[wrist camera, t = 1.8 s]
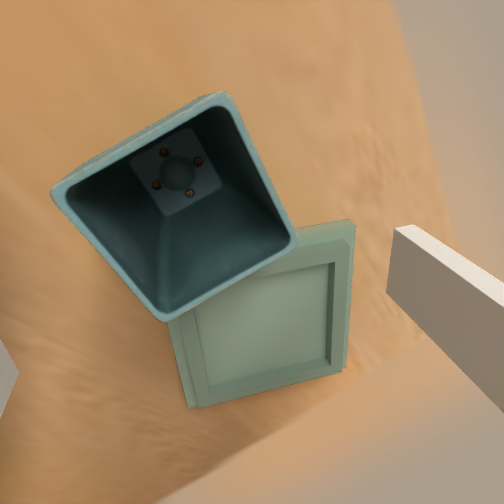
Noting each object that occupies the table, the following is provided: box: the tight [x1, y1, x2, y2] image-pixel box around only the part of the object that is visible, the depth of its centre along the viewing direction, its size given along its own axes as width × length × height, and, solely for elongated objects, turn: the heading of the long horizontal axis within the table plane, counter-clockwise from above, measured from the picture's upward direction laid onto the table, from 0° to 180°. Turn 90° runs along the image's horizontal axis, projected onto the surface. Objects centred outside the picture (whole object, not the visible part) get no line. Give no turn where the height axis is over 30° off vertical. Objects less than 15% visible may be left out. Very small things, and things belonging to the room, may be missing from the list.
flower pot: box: [50, 91, 300, 322], centre depth 21 cm, size 9×9×9 cm
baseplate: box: [167, 219, 356, 408], centre depth 32 cm, size 16×16×2 cm
